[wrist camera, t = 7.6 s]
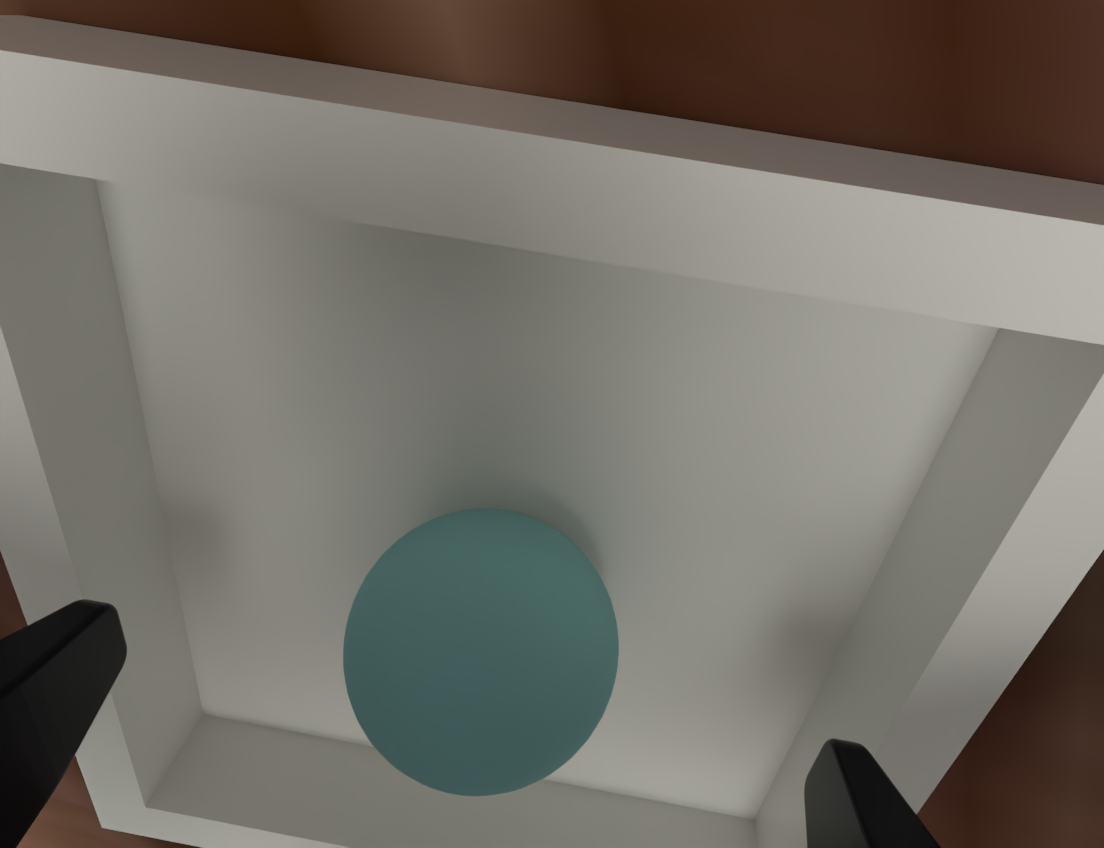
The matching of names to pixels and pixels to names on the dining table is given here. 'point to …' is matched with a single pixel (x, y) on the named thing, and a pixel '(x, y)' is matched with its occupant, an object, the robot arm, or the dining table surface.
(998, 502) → the tray
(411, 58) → the dining table surface
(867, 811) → the robot arm
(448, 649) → the ball
